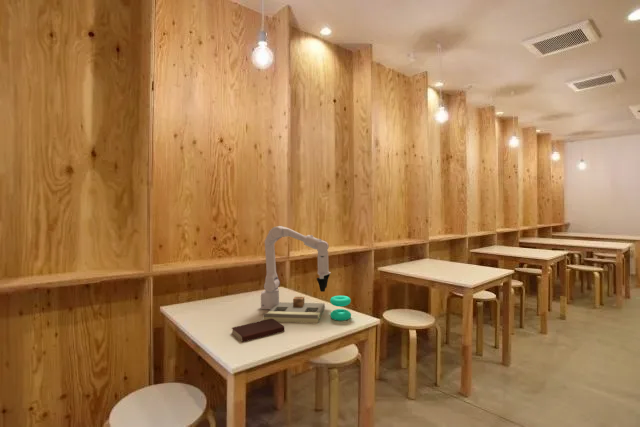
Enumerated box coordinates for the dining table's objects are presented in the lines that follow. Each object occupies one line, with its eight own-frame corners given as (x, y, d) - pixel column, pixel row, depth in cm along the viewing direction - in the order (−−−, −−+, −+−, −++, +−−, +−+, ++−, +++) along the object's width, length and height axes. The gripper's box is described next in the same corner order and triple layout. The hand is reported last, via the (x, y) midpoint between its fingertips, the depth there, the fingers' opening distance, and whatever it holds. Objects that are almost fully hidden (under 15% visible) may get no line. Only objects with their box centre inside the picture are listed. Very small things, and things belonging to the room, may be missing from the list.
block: (293, 306, 175) (293, 299, 175) (295, 304, 180) (295, 296, 180) (302, 307, 174) (302, 299, 174) (304, 304, 179) (304, 296, 179)
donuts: (346, 301, 155) (326, 298, 160) (346, 322, 155) (326, 319, 160) (353, 295, 164) (335, 293, 168) (354, 316, 164) (335, 313, 169)
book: (284, 332, 145) (284, 325, 145) (242, 343, 134) (242, 335, 134) (271, 324, 156) (271, 317, 156) (231, 334, 145) (231, 326, 145)
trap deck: (263, 321, 159) (263, 313, 159) (277, 305, 184) (277, 299, 184) (317, 322, 155) (317, 315, 155) (324, 307, 180) (324, 300, 180)
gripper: (329, 266, 169) (329, 293, 169) (332, 261, 183) (332, 286, 184) (315, 266, 170) (315, 293, 170) (319, 261, 184) (319, 286, 185)
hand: (323, 289), depth 177 cm, fingers open, 7 cm apart
